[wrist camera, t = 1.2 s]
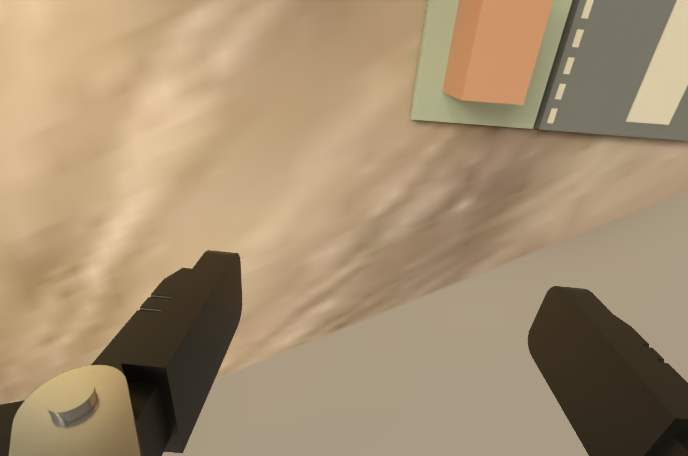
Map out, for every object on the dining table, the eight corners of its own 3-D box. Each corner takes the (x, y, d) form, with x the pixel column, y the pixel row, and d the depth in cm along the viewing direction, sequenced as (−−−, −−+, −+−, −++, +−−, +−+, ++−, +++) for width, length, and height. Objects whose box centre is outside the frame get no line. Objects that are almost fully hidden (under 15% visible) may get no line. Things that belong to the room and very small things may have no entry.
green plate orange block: (434, -52, 21) (460, -86, 16) (577, -41, 21) (650, -72, 16) (409, 117, 26) (423, 133, 20) (527, 126, 26) (571, 145, 20)
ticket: (583, -40, 21) (594, -44, 20) (771, -25, 21) (791, -29, 20) (532, 126, 26) (539, 129, 25) (687, 138, 26) (700, 142, 25)
